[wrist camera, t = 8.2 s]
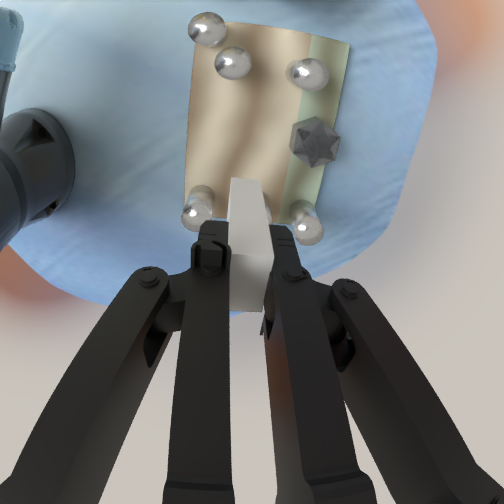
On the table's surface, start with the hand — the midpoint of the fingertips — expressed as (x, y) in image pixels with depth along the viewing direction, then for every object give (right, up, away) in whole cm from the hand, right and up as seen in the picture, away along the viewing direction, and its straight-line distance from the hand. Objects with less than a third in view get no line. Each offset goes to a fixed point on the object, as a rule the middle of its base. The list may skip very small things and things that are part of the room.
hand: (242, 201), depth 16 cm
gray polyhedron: (+7, +9, +13) cm, 17 cm away
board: (+1, +11, +14) cm, 17 cm away
